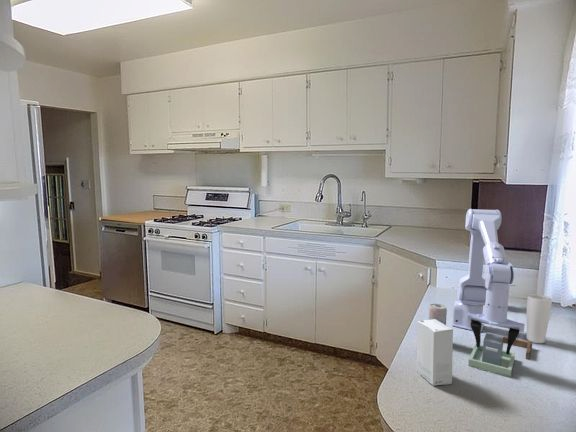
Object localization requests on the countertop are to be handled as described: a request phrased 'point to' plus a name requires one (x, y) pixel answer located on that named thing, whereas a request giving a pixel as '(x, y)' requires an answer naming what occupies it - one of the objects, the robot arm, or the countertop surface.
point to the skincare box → (434, 351)
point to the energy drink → (438, 313)
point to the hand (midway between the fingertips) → (492, 349)
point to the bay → (520, 345)
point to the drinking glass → (537, 317)
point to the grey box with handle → (492, 348)
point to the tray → (503, 369)
